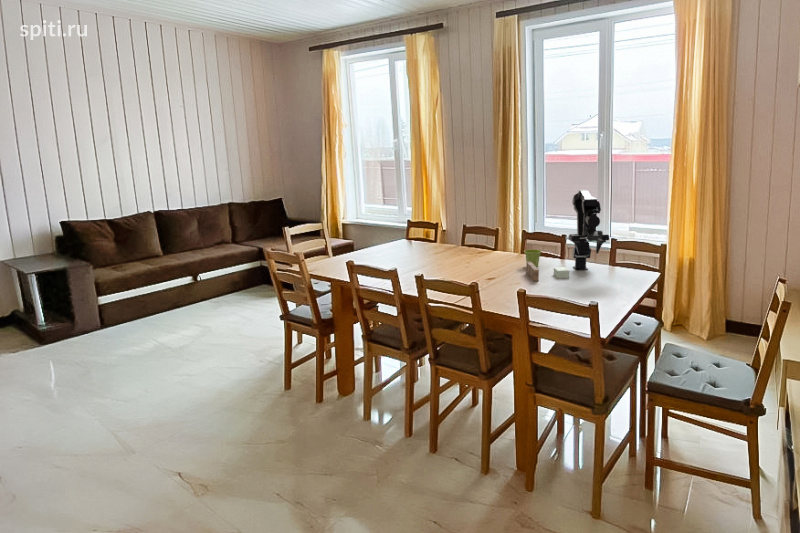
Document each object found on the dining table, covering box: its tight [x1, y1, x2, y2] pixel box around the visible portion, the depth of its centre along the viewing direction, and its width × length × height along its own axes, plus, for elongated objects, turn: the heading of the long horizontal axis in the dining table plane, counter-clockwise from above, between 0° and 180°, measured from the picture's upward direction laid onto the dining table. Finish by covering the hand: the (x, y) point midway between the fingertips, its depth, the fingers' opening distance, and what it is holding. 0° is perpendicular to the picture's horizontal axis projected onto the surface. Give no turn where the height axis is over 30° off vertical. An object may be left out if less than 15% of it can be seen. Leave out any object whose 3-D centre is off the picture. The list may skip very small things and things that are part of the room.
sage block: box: [553, 266, 570, 279], centre depth 295 cm, size 7×6×4 cm
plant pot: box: [523, 249, 542, 268], centre depth 317 cm, size 9×9×9 cm
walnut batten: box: [526, 262, 540, 282], centre depth 295 cm, size 18×2×6 cm, turn 179°
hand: (587, 253), depth 289 cm, fingers open, 9 cm apart
